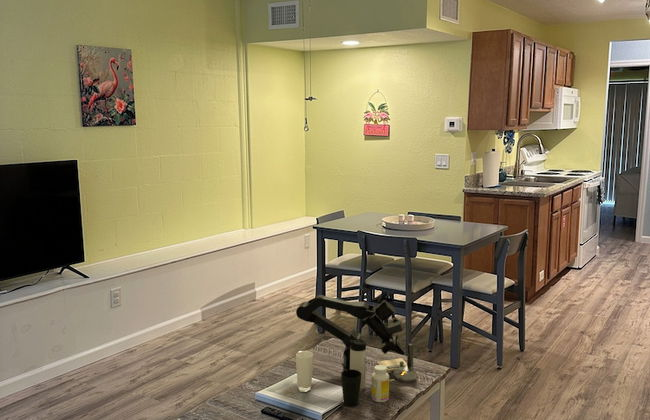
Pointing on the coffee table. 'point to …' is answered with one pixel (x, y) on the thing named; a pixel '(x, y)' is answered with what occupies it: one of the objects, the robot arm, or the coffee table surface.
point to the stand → (392, 364)
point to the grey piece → (406, 368)
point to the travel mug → (358, 359)
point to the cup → (351, 387)
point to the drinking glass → (304, 368)
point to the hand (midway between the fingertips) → (404, 353)
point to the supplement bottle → (380, 384)
